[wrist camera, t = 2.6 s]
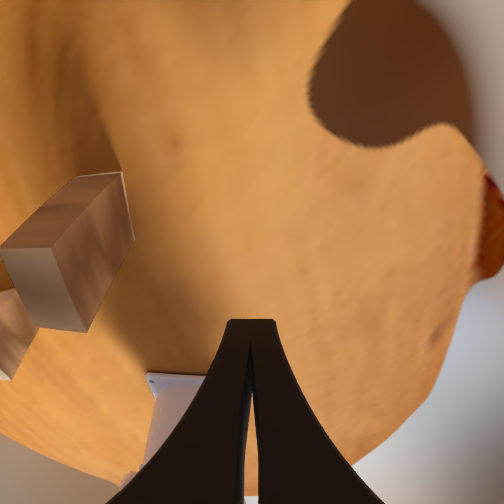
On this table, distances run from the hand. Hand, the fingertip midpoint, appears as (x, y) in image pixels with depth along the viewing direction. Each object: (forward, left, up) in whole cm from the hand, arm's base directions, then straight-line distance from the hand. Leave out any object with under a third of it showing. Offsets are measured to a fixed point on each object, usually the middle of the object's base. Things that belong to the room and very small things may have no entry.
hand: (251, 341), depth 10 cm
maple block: (-9, +21, -10) cm, 25 cm away
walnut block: (0, +9, -10) cm, 13 cm away
